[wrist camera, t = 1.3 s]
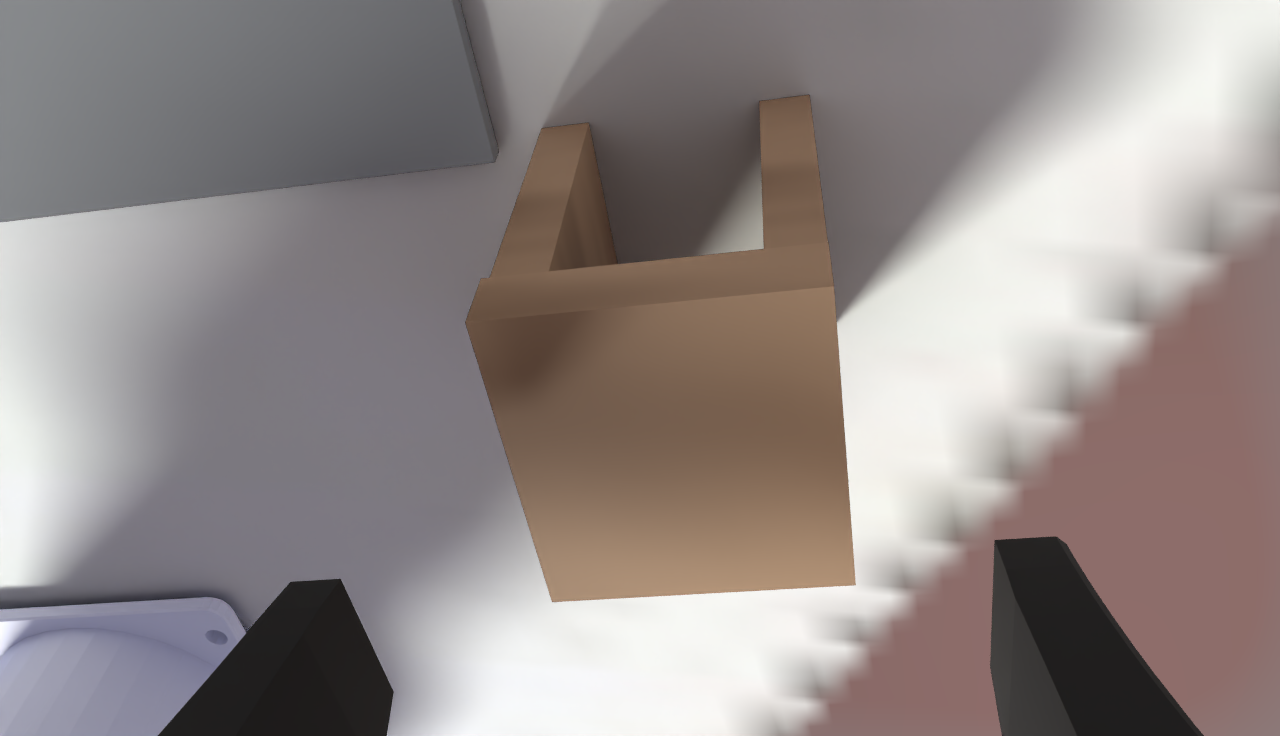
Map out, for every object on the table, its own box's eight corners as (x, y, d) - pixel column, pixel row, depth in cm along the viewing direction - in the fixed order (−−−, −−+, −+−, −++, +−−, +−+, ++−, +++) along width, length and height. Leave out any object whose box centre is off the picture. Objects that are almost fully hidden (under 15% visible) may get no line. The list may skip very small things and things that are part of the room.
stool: (828, 339, 20) (855, 585, 15) (595, 361, 21) (552, 602, 16) (808, 82, 17) (833, 286, 13) (538, 117, 18) (465, 322, 13)
